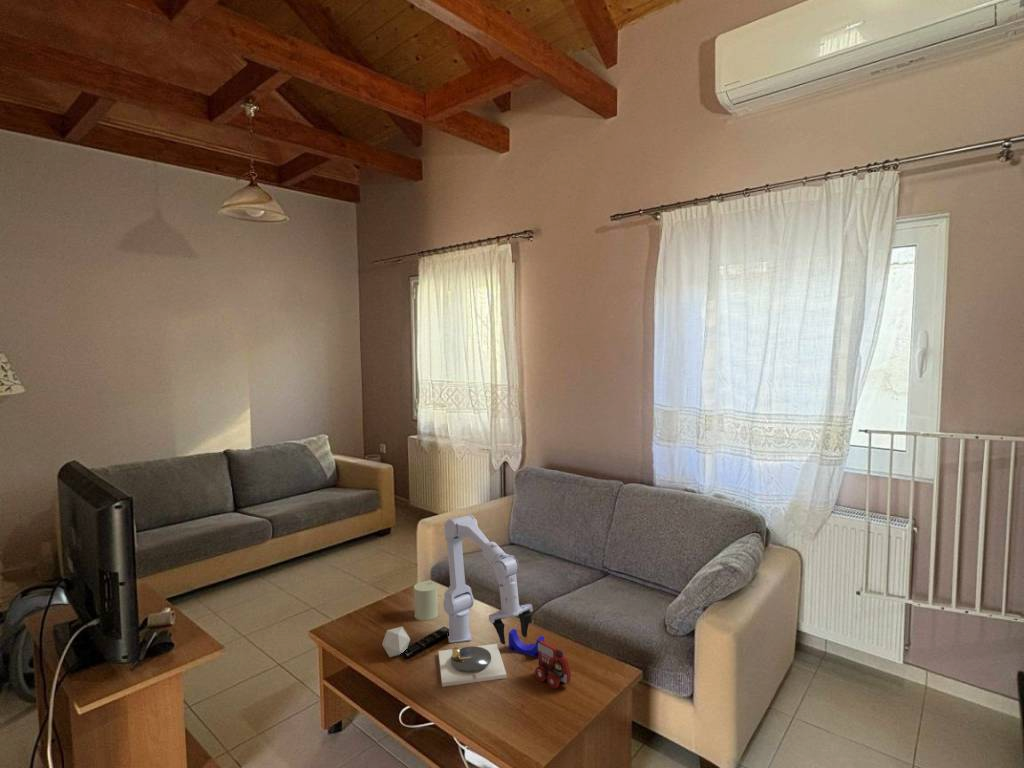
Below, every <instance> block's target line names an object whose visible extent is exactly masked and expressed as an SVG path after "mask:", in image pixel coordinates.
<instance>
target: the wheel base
mask: <svg viewBox="0 0 1024 768" xmlns="http://www.w3.org/2000/svg"><path fill="white" fill-rule="evenodd" d="M475 647H481V648H484V649H486V650H488V651H489V652H490V654H491V662H490V664H489V665H488V666H487V667H485V668H483V669H481V670H478V671H472V672H467V671H461V670H458V669H456V668H454V667H453V666H452V664H451V656H452V649H453V648H452V649H445V650H438V661H439V670H440V671H439V672H440V678H441V679H440V680H441V686H442V688H443V687H444V688H445V687H451V686H457V685H464V684H473V683H479V682H486V681H494V680H500V679H507V678H508V675H507V672H506V667H505V665H504V662H503V659H502V658H503V657H502V656H501V652H500V649H499V646H498V643H492V644H485V645H478V646H477V645H476V646H475ZM458 648H459V649H461V648H462V647H458Z"/></svg>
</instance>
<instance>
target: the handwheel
mask: <svg viewBox="0 0 1024 768" xmlns="http://www.w3.org/2000/svg"><path fill="white" fill-rule="evenodd" d="M459 648H461V649H459ZM490 662H491V654H490V652H489V651H488V650H486V649H484V648H481V647H475V646H474V645H473V646H465V647H454V648H452V656H451V664H452V666H453V667H454V668H456V669H458V670H461V671H467V672H472V671H478V670H481V669H483V668H485V667H487V666H488V665H489V664H490Z"/></svg>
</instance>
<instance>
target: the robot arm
mask: <svg viewBox="0 0 1024 768" xmlns="http://www.w3.org/2000/svg"><path fill="white" fill-rule="evenodd" d="M478 525H479V524H478V520H477V519H476V518H475V516H473V514H470V513H469V514H466V515H462V516H458V517H455V518H451V519H448V520H446V522H445V523H444V536H445V541H446V547H447V559H448V560H447V561H448V571H449V584H450V585H449V586H448V588H447V589H446V590H445V591H444V598H443V599H444V600H443V609H444V612H445V613H446V614H447V615H448V628H447V629H449V636H448V635H447V638H448V643H449V644H452V643H462V642H467V641H472V636H471V630H470V612H471V608H473V606H474V603H475V601H474V600H475V598H474V595H473V593H472V587H470V586H469V585H468V584H466V577H465V566H464V565H465V564H464V554H463V553H464V552H463V540H464V539H466V538H469V540H471V541H472V542H474V544H475V545H477V546H478V547H479V548H480V549H481V550H482V552H481V555H482V556H483V557H484V558H485V559H486V560H487V562H489V564H490V565H491V566H492V567H493V573H494V575H495V577H496V581H497V583H498V586H499V597H500V607H501V609H500V610H498V611H496V612H494V613H491V614H488V622H490V623H491V624H492V625H493V627H494V628H495V631H496V633H497V635H498V637H499V642H500V643H501V644H502V645H505V644H506V638H505V623H504V622H503V620H505V619H507V618H512V617H514V618H515V617H518V618H519V623H520V631H521V632H520V633H521V636H522V637H524V638H527V637H528V635H527V634H528V631H529V630H528V628H529V626H530V622H531V619H532V612H534V611H533V605H532V604H531V603H526V604H521V605H520V600H519V590H518V583H517V581H518V580H517V574H518V572H519V571H520V564H519V561H518V559H517V558H516V556H514V555H511V554H509V553H506V552H505V551H504V550H503V549H502V548H501V547H500V546H499V545H498V544H497V542H496V541H490V540H489V539H488V538H487V537H486V535H485V534H484V533H483V531H482V530H481V529H480V528H479V526H478Z"/></svg>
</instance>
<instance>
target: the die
mask: <svg viewBox="0 0 1024 768" xmlns="http://www.w3.org/2000/svg"><path fill="white" fill-rule="evenodd" d="M410 641H411V638H410V636H409V634H408V633H407V631H406V629H404V627H403V626H398V627H394V628H391V629H387V630H386V632H385V635H384V637H383V640H382V644H381V645H382V647H383V649H384V650H385V652H386V655H388V657H389V658H394V657H397V656H401V655H402V654H401V653H403V652H404V651H405V650H406V649H408V647H409V643H410ZM406 651H407V650H406ZM400 654H401V655H400Z"/></svg>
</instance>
